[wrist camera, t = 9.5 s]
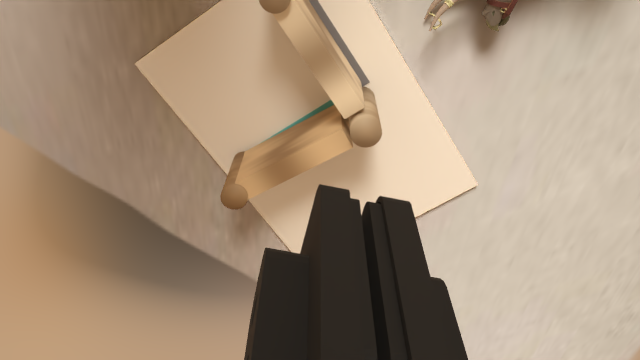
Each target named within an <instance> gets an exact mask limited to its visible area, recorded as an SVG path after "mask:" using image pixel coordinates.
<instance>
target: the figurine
mask: <svg viewBox="0 0 640 360" xmlns="http://www.w3.org/2000/svg"><path fill="white" fill-rule="evenodd" d="M441 1H442V0H434V1H433V2H432V4H431V6H430V7H429V9H428V12H427V14H426V16H425V18H424V19H426V18H427V17H428V15H429V14H430V15H432V16H433V15H434V14H433V13H431V11H432V9H433V8H434V7H435V6H436V5H437V4H438V3H439V2H441ZM457 1H458V0H445V2H444V4H443V5H442V7H441V8H440V9H439V10H438V12H437V13H436V15H434V20H433V22H432V25H431V27H430V30H429V31H431V30H432V28H433V27H434V28H433V29H435V30H436V29H437V28H438V27H440V26H441V25H442V22H441V20H440V19H439V17H440V16H441V15H442V14H443V13H444V12H445V11H446V10H447V9H448V8H450V7H451V6H452V5H454V3H455V2H457ZM517 1H518V0H487V4H486V7H485V9H484V10H483V12H482V15H483V16H484V17H485V19H486V23H487V25H488V27H489V28H490V29H491V30H495V31H499V29H498V24H499V26H501V25H504V24H506V23H507V21H508V20H509V17H510V14H511V12H512V10H513V8H514V6H515V4H516V3H517ZM437 20H439V22H440V24H439V25H438V26H436V27H435V26H434V25H435V23H436V21H437Z"/></svg>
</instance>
